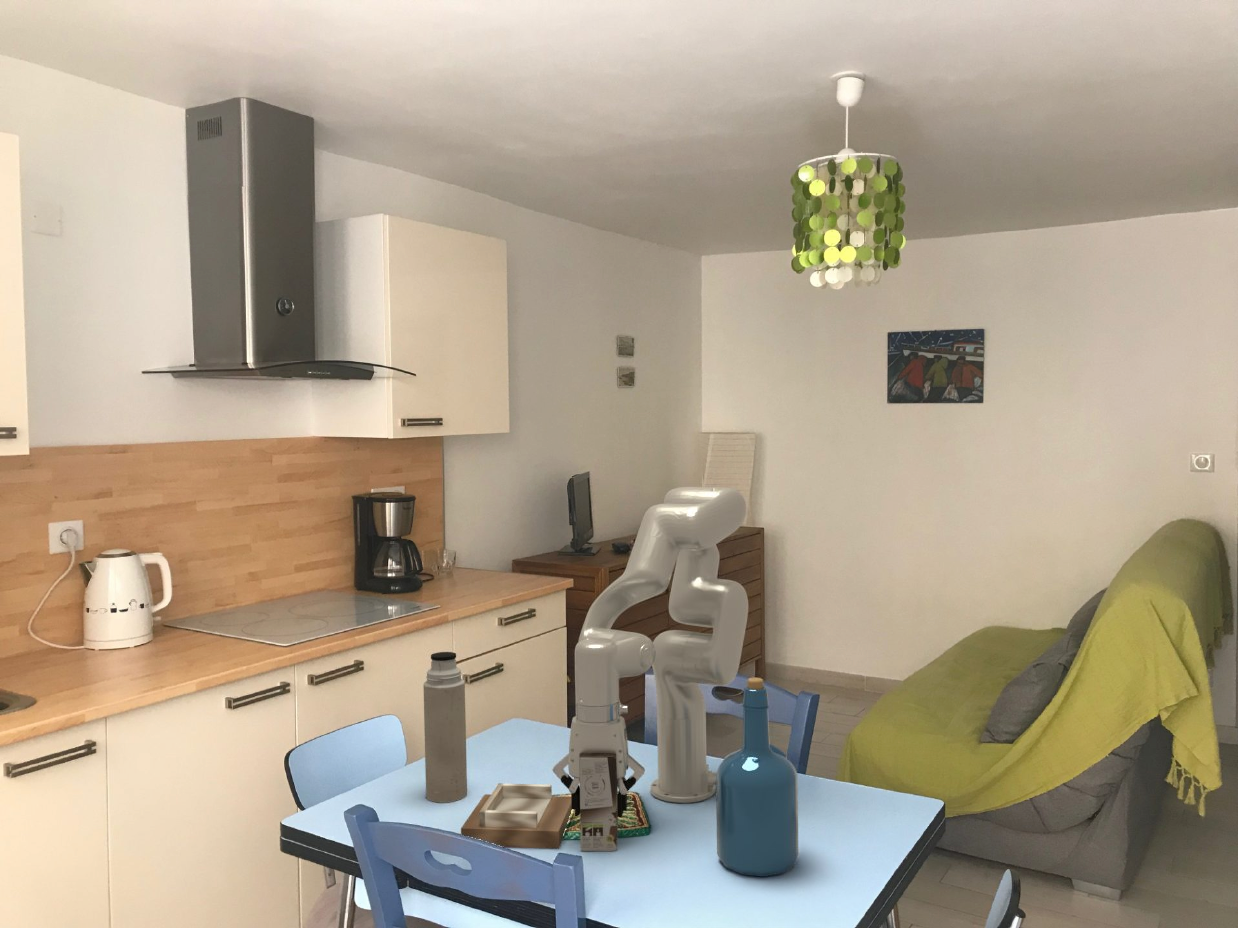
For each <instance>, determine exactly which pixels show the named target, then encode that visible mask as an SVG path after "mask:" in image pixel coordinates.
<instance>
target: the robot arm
mask: <svg viewBox="0 0 1238 928" xmlns="http://www.w3.org/2000/svg"><path fill="white" fill-rule="evenodd" d="M746 503H747V502H746V499H745V497H744V496H743V494H742V493H741V492H740V491H739V490H737V489H735V488H732V487H715V486H714V487H712V486H711V487H710V486H708V487H707V486H682V487H675V488H673V489H670V490H669V491H667V493H666V494H665V496H664V499H663V503H658V504H654V505H652V506H650V507H648V509H647V510H646V512H645V513H644V515H643V518H642V520H641V522H640V527H639V529H638V532H637V534H636V538H635V541H634V544H633V546H632V550H631V552H630V555H629V558H628V561H627V565H626V567H625V570H624V571H623V574H622V575H620V576H619V577H618V578H617V579H616V580H613V582H612V583H611V584H610V585H608V586H607V587H606V588H605V589H604V590H603V591H602V592H601V593H600V594H599V595H598V597H597V598H596V599H595V600H594V601H593V602H592V604H591V606H590V607H589V609H588V612H587V614H586V617H585V620H584V622H583V625H582V628H581V631H580V634H579V637H578V642H577V643H576V645H575V648H574V683H575V684H574V685H575V686H574V687H575V689H574V690H575V716H573V717H572V720H571V726H570V733H569V740H568V741H569V742H568V743H569V744H568V745H569V746H568V754H566V755H565V756H564V757H563V758H562V759H561V760H559V761H558V762H557V763H556V764H555V765H554V766H553V768H552V772H553V773H554V774H555V776H556V777H557V778H558V779H559V780H560V782H561V783H562V784H563V785H564V786H565V787H566V788H567V789H568V792H569V793H570V797H571V808H572V809H574V817H580V768H579V755H580V753H616V765H617V787H618V794H617V814H618V819H619V818H623V815H624V812H627V809H628V792H629V791H630V790H631V789H632V788H633V787H634V786H635V785H636V784H637V782H638V781H639V780H640V779H641V778H642V777H643V775H644V774H645V771H646V769H645V767H644V766H643V765H642V764H640V763H639V762H638V761H637V760H635V758H633V757H632V756H631V755H630V754H629V743H628V733H627V726H626V722H625V718H624V716H621V715H624V714H628V712H629V711H628V710H629V709H628V708H629V707H628V705H627V704H622V703H621V701H620V684H619V683H620V682H619V681H620V679H621V678H627V677H636V676H640V675H643V674H645V673H646V672H647V671H649V670H650V669H651V668H652V671H653V677H654V681H655V683H654V684H655V691H656V692H655V693H656V722H657V724H656V726H657V727H656V728H657V731H656V732H657V779H655V780H653V781H652V782H651V784H650V790H649V791H650V793H651V795H652V796H653V797H655V798H656V799H658V800H661V801H665V802H669V803H679V804H682V803H683V804H684V803H686V804H688V803H689V804H690V803H696V802H702V801H705V800H708V799H710V798H711V797H712V796H713V795H714V794H716V773H717V772H713V771H712V770H709V764H707V717H706V716H707V714H706V713H707V710H706V708H707V707H706V699H705V695H704V693H703V690H702V689H701V686H700V685H699V684H701V685H707V686H715V687H724V686H728V685H730V684H731V683H733V681H734V680H735V678H736V676H737V674H738V671H739V668H740V662H741V657H742V651H743V647H744V646H743V645H744V640H745V634H746V628H747V623H748V616H749V615H748V614H749V600H748V595H747V591H746V589H745V588H744V586H743V585H742V584H741V583H739V582H737V581H736V580H730V579H725V578H723V579H722V578H718V573H719V565H720V551H719V548H718V547H717V544H719V543H720V542H722V541H723V540H725V539H726V538H728V537H729V536H730V535H732V534H733V533H735V532H736V531H737V530H738V529H739V528H740V527H741V525H742V524H743V523H744V520H745V518H746V514H747V504H746ZM673 572H674V573H673ZM672 576H673V578H672ZM671 578H672V583H671V590H670V594H669V600H668V614H669V615H670V617H671V619H672V620H674V621H675V622H676V623H679V624H683V625H689V626H696V627H703V628H710V629H711V628H712V633H705V632H704V633H703V632H697V631H691V630H680V629H673V630H672V629H671V630H666V631H663V632H661V633H660V634H658V635H657V636H656V637H655V639H653V641H652V639H651V638H650V637H648V636H647V635H645V634H643V633H639V632H631V631H625V630H618V629H611V628H612V627H613V624H614V623H615V622H616V620H617V619H618V618H619V616H620V615H622V613H623V612H625V611H626V610H627V609H629V608H631V607H632V606H634V605H637V604H638V603H641V602H644V601H646V600H648V599H651V598H653V597H656V596H658V595H660V594H662V593H664V592H665V591H666V590H668V587H669V585H670V581H671ZM567 766H568V773H569V774H568V773H567V772H566V771H565V768H566V767H567ZM629 768H630V769H631V770H632V771H633V773H632V774H631V775H630V776H629V777H628V778H626V776H627V770H629Z"/></svg>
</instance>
